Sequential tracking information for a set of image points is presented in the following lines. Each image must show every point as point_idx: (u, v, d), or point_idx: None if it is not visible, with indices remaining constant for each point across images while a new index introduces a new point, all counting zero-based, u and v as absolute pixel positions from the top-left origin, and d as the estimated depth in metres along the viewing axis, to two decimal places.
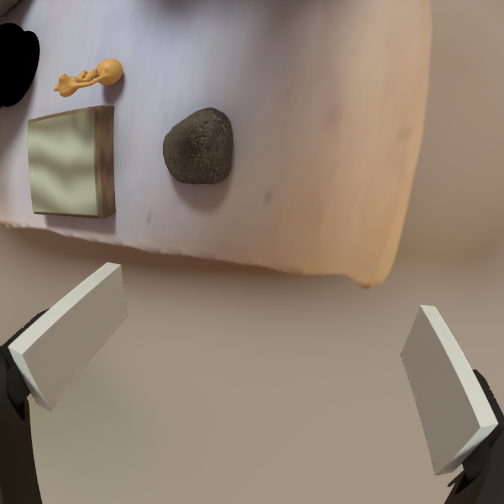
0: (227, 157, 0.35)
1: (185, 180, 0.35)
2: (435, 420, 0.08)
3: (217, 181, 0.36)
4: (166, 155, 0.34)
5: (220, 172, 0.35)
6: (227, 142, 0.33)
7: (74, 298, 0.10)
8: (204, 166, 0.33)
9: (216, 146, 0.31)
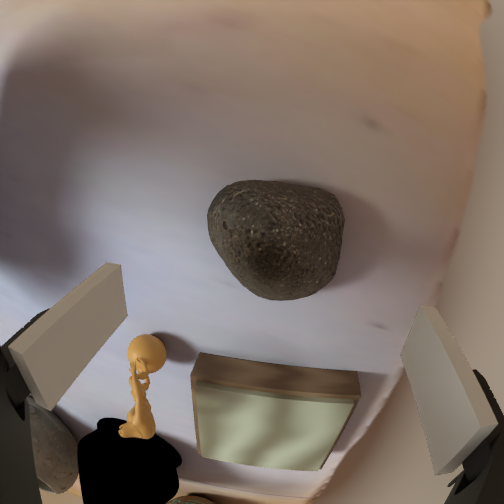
0: (297, 191, 0.19)
1: (331, 269, 0.20)
2: (435, 420, 0.08)
3: (340, 212, 0.20)
4: (282, 297, 0.21)
5: (324, 205, 0.19)
6: (269, 188, 0.19)
7: (74, 298, 0.10)
8: (308, 234, 0.17)
9: (272, 207, 0.17)
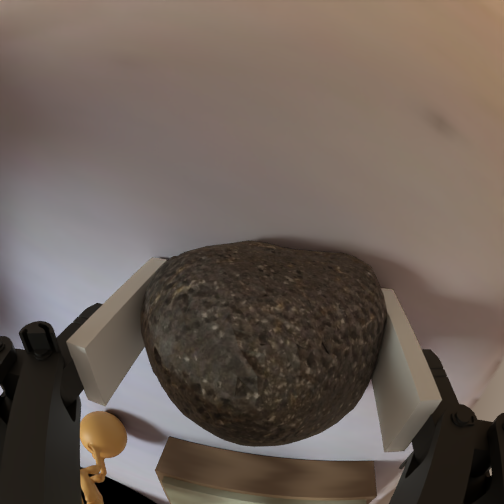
0: (305, 273, 0.10)
1: (357, 400, 0.10)
2: (385, 396, 0.09)
3: (382, 307, 0.10)
4: None
5: (356, 304, 0.09)
6: (246, 275, 0.09)
7: (128, 291, 0.11)
8: (324, 383, 0.08)
9: (248, 337, 0.07)
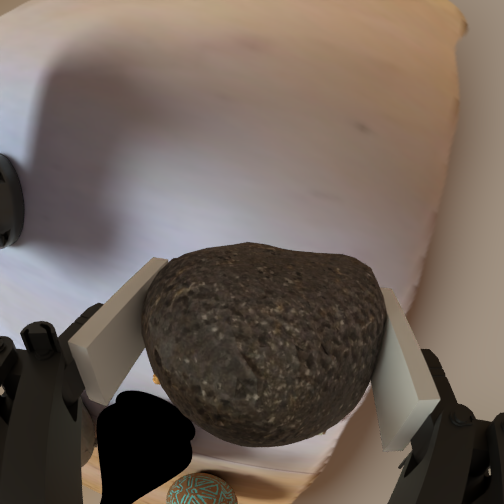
0: (304, 275, 0.10)
1: (357, 401, 0.10)
2: (384, 396, 0.09)
3: (382, 308, 0.10)
4: None
5: (356, 305, 0.09)
6: (246, 277, 0.09)
7: (129, 291, 0.11)
8: (324, 383, 0.08)
9: (248, 339, 0.08)
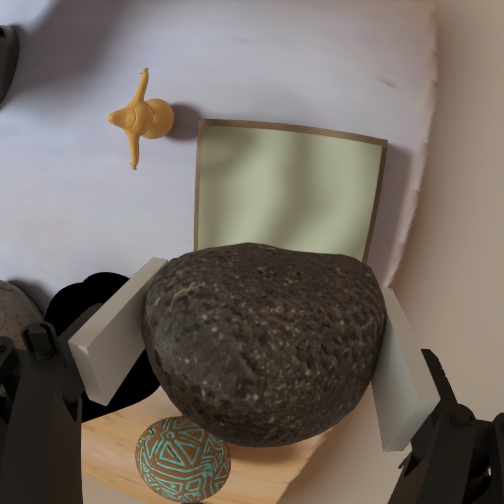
0: (305, 275, 0.10)
1: (357, 401, 0.10)
2: (384, 396, 0.09)
3: (382, 308, 0.10)
4: None
5: (356, 305, 0.09)
6: (246, 277, 0.09)
7: (129, 291, 0.11)
8: (324, 384, 0.08)
9: (247, 339, 0.07)
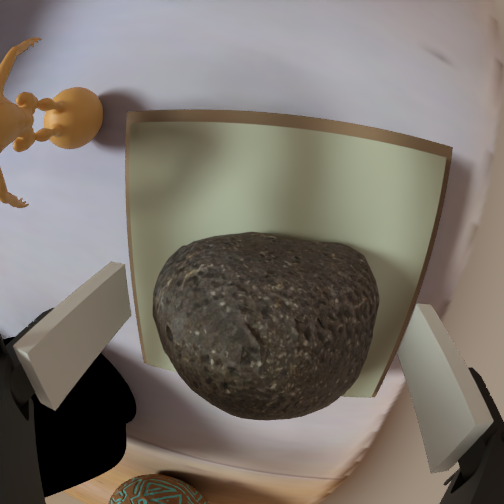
0: (302, 259, 0.11)
1: (353, 380, 0.12)
2: (430, 418, 0.08)
3: (374, 291, 0.11)
4: None
5: (349, 286, 0.11)
6: (250, 260, 0.10)
7: (79, 297, 0.10)
8: (320, 355, 0.09)
9: (252, 312, 0.09)
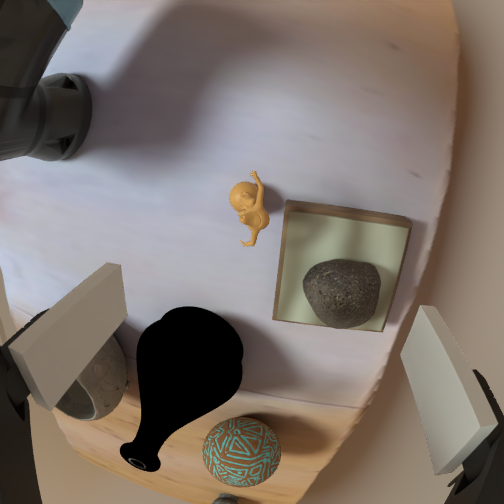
0: (356, 268, 0.33)
1: (373, 311, 0.34)
2: (435, 420, 0.08)
3: (379, 279, 0.33)
4: (345, 327, 0.35)
5: (371, 277, 0.33)
6: (342, 269, 0.33)
7: (74, 298, 0.10)
8: (364, 296, 0.31)
9: (347, 283, 0.31)
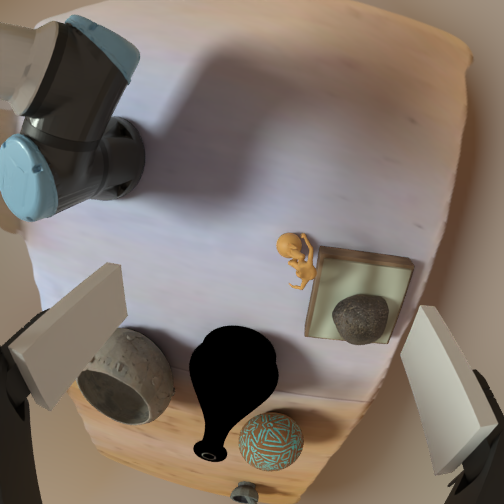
0: (372, 303, 0.44)
1: (383, 332, 0.45)
2: (435, 420, 0.08)
3: (387, 309, 0.44)
4: (362, 344, 0.46)
5: (382, 308, 0.44)
6: (362, 304, 0.43)
7: (74, 298, 0.10)
8: (378, 324, 0.42)
9: (366, 315, 0.42)
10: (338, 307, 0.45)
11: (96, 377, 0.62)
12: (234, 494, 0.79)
